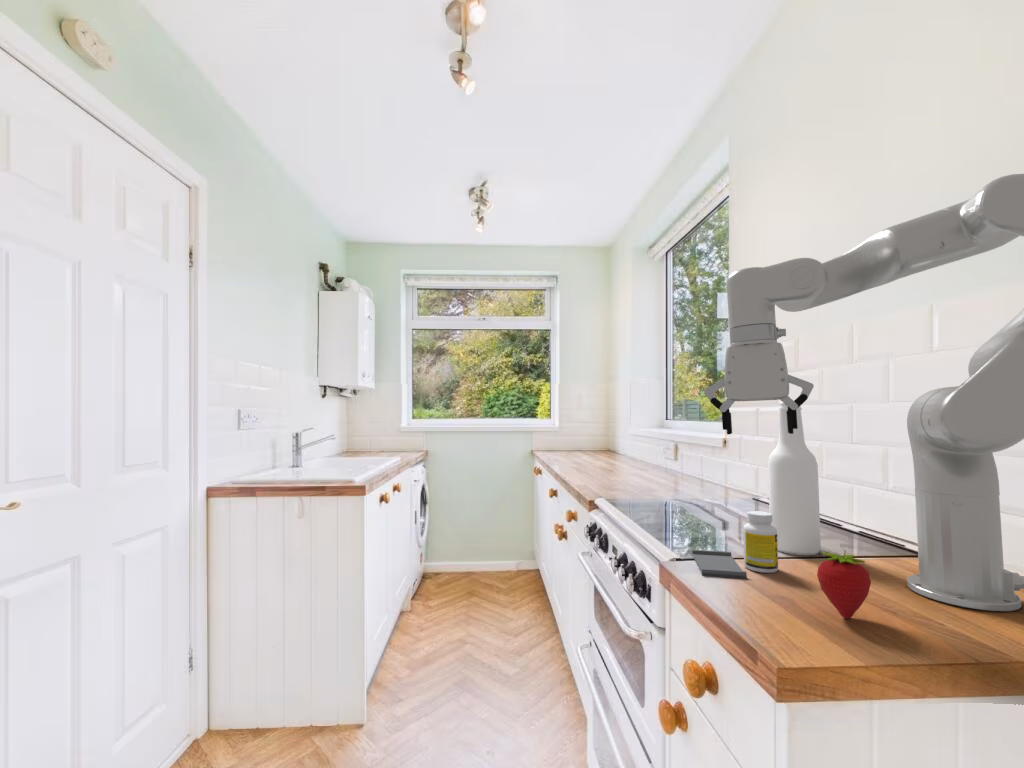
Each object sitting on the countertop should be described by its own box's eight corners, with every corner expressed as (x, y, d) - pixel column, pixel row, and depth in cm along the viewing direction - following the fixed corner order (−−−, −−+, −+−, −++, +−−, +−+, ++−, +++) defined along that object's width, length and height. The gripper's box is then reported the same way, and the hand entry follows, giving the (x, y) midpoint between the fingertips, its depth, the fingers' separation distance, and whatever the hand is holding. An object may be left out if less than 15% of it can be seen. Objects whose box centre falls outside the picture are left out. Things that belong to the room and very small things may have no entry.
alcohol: (773, 553, 94) (768, 401, 96) (768, 542, 102) (763, 402, 104) (825, 558, 91) (819, 400, 92) (816, 546, 99) (810, 401, 100)
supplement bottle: (783, 574, 82) (781, 516, 82) (749, 572, 83) (747, 515, 83) (772, 564, 87) (770, 510, 88) (740, 563, 88) (739, 509, 89)
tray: (730, 557, 92) (730, 551, 92) (746, 578, 80) (746, 572, 80) (692, 554, 93) (692, 549, 93) (702, 575, 82) (702, 569, 82)
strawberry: (810, 618, 65) (807, 543, 65) (830, 604, 69) (827, 534, 70) (862, 633, 60) (859, 553, 61) (880, 617, 65) (876, 542, 65)
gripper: (807, 335, 85) (814, 432, 84) (703, 345, 93) (708, 433, 92) (811, 329, 78) (819, 434, 77) (699, 340, 86) (704, 435, 85)
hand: (759, 433), depth 84 cm, fingers open, 9 cm apart
